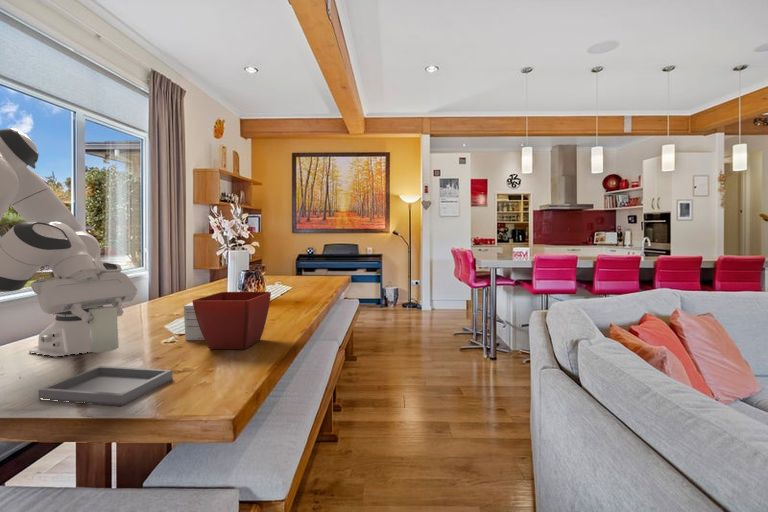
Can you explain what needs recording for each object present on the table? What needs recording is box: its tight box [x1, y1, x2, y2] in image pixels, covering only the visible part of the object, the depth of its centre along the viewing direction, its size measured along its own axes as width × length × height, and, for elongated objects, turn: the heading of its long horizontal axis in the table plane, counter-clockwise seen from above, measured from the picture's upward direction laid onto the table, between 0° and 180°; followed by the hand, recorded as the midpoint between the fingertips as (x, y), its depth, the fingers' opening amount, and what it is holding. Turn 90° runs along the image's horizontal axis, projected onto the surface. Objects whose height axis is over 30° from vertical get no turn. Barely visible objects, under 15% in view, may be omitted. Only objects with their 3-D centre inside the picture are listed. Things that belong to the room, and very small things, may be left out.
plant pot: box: [191, 291, 272, 350], centre depth 133 cm, size 19×19×17 cm
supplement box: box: [183, 301, 205, 341], centre depth 143 cm, size 7×7×13 cm
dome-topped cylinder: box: [89, 305, 120, 353], centre depth 95 cm, size 6×6×10 cm
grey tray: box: [37, 365, 173, 407], centre depth 96 cm, size 22×16×2 cm
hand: (104, 317), depth 95 cm, fingers closed on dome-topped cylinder, 5 cm apart
